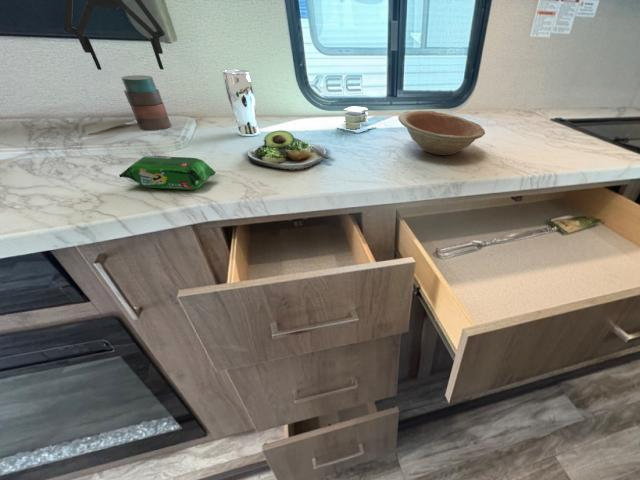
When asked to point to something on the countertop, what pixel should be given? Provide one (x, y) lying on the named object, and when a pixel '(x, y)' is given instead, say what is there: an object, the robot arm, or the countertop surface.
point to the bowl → (440, 131)
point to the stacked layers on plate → (355, 117)
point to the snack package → (169, 172)
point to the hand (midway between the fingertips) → (131, 69)
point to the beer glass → (241, 100)
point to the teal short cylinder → (139, 84)
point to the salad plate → (286, 152)
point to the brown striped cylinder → (148, 110)
